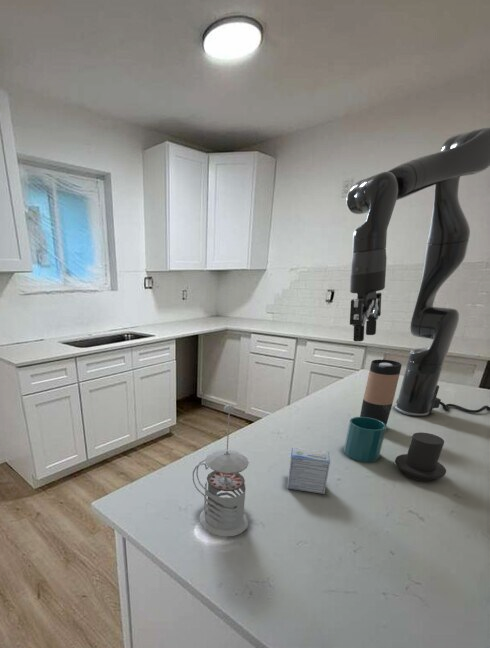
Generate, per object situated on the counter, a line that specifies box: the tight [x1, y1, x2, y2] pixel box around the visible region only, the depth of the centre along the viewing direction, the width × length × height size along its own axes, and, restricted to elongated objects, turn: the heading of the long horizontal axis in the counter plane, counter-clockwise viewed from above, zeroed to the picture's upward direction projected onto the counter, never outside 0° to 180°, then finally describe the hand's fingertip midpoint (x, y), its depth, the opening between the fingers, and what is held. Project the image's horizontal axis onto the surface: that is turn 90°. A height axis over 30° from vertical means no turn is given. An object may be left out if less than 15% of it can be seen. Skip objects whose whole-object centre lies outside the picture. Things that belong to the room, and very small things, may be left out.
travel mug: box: [359, 359, 403, 426], centre depth 106 cm, size 8×8×20 cm
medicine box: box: [286, 447, 331, 495], centre depth 81 cm, size 8×4×9 cm, turn 71°
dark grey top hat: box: [394, 431, 447, 482], centre depth 84 cm, size 10×10×10 cm
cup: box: [343, 416, 388, 463], centre depth 93 cm, size 8×8×9 cm
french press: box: [192, 403, 250, 538], centre depth 68 cm, size 10×12×25 cm
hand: (364, 337), depth 93 cm, fingers open, 8 cm apart
